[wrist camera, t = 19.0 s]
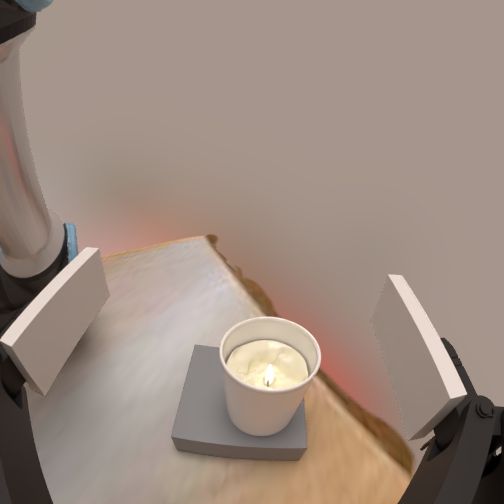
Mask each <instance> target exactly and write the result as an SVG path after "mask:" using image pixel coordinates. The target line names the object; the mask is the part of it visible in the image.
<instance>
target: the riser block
mask: <svg viewBox="0 0 504 504" xmlns="http://www.w3.org/2000/svg"><path fill="white" fill-rule="evenodd" d="M171 437H172V439H173V442H174V444H175V446H176V448H177V450H180V451H186V452H192V453H198V454H204V455H211V456H219V457H229V458H240V459H254V460H299V459H300V458H301V456H302V455H303V454H304V452H305V451H306V449H307V435H306V420H305V406H304V397H303V399H302V401H301V403H300V405H299V407H298V409H297V411H296V412H295V414H294V416H293V418H292V419H291V421H290V422H289V424H288V425H287V426H286V427H285V428H284V429H283V430H281V431H280V432H278V433H275V434H273V435H269V436H254V435H250V434H247V433H245V432H243V431H241V430H239V429H238V428H237V427H236V426H235V425H234V424H233V423H232V421H231V420H230V418H229V415H228V412H227V406H226V399H225V392H224V383H223V375H222V366H221V361H220V356H219V347H210V346H202V345H195V346H194V350H193V354H192V357H191V361H190V365H189V369H188V372H187V376H186V380H185V384H184V387H183V391H182V395H181V399H180V403H179V407H178V411H177V415H176V419H175V423H174V427H173V431H172V435H171Z"/></svg>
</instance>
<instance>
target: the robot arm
mask: <svg viewBox="0 0 504 504" xmlns="http://www.w3.org/2000/svg"><path fill="white" fill-rule="evenodd" d="M52 2H53V0H0V504H53V502H52V499H51V497H50V494H49V491H48V488H47V485H46V482H45V479H44V476H43V473H42V470H41V466H40V462H39V459H38V455H37V451H36V447H35V442H34V438H33V433H32V428H31V422H30V416H29V410H28V402H27V394H26V390H25V387H24V386H23V384H24V383H25V381H26V382H27V383H28V384H29V386H30V387H31V388H32V390H34V391H36V392H38V393H40V394H42V395H44V396H46V395H47V393H48V391H49V389H50V387H51V386H52V384H53V382H54V381H55V379H56V377H57V375H58V374H59V372H60V370H61V369H62V367H63V365H64V364H65V362H66V361H67V359H68V357H69V356H70V354H71V353H72V351H73V349H74V348H75V346H76V345H77V343H78V342H79V340H80V339H81V337H82V336H83V334H84V333H85V331H86V330H87V328H88V327H89V325H90V324H91V322H92V321H93V319H94V318H95V316H96V315H97V314H98V312H99V311H100V309H101V308H102V306H103V305H104V304H105V302H106V301H107V299H108V298H109V297H110V294H109V290H108V286H107V282H106V278H105V274H104V269H103V265H102V260H101V256H100V251H99V248H91V247H86V248H85V249H84V250H83V251H82V252H81V253H80V254H79V255H78V247H77V237H76V228H75V225H74V224H72V223H70V224H68V223H64V224H63V223H62V221H61V219H60V217H59V216H58V215H57V214H56V213H55V212H54V211H52V210H50V209H48V208H47V207H46V204H45V201H44V198H43V194H42V192H41V188H40V184H39V181H38V177H37V174H36V170H35V166H34V162H33V157H32V153H31V148H30V144H29V139H28V134H27V129H26V122H25V116H24V109H23V101H22V92H21V81H20V64H19V63H20V61H19V49H20V47H21V45H22V44H23V42H24V41H25V40H26V39H27V37H28V36H29V35H30V34H31V32H32V31H33V30H34V28H35V25H36V12H39V11H41V10H42V9H44V8H46V7H48V6H49V5H50V4H51V3H52ZM370 322H371V325H372V328H373V330H374V333H375V336H376V339H377V341H378V344H379V347H380V350H381V353H382V356H383V359H384V362H385V364H386V367H387V370H388V374H389V377H390V380H391V383H392V386H393V390H394V393H395V396H396V399H397V403H398V406H399V410H400V413H401V417H402V421H403V425H404V428H405V432H406V436H407V440H408V441H410V440H414V439H419V438H423V437H425V436H426V435H427V434H428V433H429V432H431V431H432V430H434V433H435V436H434V437H433V438H432V439H430V440H429V441H428V442H427V443H425V444H424V445H423V446H422V448H421V449H420V450H423V449H425V448H426V447H427V446H428V448H427V450H426V452H425V455H424V457H423V459H422V461H421V463H420V465H419V467H418V469H417V471H416V473H415V475H414V476H413V478H412V480H411V482H410V484H409V486H408V487H407V489H406V491H405V493H404V494H403V496H402V498H401V499H400V501H399V502H398V504H504V407H496V406H494V404H493V403H492V402H491V400H490V399H488V398H487V397H484V396H478V395H477V394H476V392H475V389H474V387H473V385H472V383H471V381H470V379H469V377H468V375H467V373H466V371H465V369H464V367H463V366H462V363H461V361H460V359H459V358H458V355H457V353H456V351H455V349H454V348H453V346H452V345H451V344H450V343H449V342H448V341H447V340H446V339H445V338H439V336H438V334H437V332H436V330H435V329H434V327H433V325H432V323H431V322H430V320H429V318H428V316H427V315H426V313H425V311H424V310H423V308H422V306H421V305H420V303H419V301H418V300H417V298H416V297H415V295H414V293H413V292H412V290H411V289H410V287H409V286H408V284H407V282H406V281H405V279H404V278H403V276H402V275H390V274H388V275H387V278H386V281H385V284H384V287H383V290H382V292H381V295H380V298H379V301H378V303H377V306H376V308H375V311H374V313H373V316H372V318H371V321H370ZM501 446H502V448H501V453H500V454H499V455H498V456H497V455H496V450H497V449H498V448H499V447H501Z"/></svg>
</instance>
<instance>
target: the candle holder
mask: <svg viewBox="0 0 504 504" xmlns="http://www.w3.org/2000/svg"><path fill="white" fill-rule="evenodd" d="M219 356H220V361H221V366H222V375H223V383H224V392H225V399H226V406H227V412H228V415H229V418H230V420H231V421H232V423H233V424H234V425H235V426H236V427H237V428H238V429H239V430H241V431H243V432H245V433H247V434H250V435H254V436H269V435H273V434H275V433H278V432H280V431H281V430H283V429H284V428H285V427H286V426H287V425H288V424H289V422H290V421H291V419H292V418H293V416H294V414H295V412H296V411H297V409H298V407H299V405H300V403H301V401H302V399H303V397H304V396H305V394H306V392H307V390H308V388H309V386H310V384H311V382H312V380H313V378H314V376H315V375H316V373H317V371H318V369H319V367H320V363H321V351H320V348H319V345H318V343H317V341H316V340H315V338H314V337H313V336H312V335H311V334H310V333H309V332H308V331H307V330H306V329H305V328H303V327H302V326H300V325H298V324H296V323H293V322H291V321H289V320H285V319H282V318H276V317H256V318H251V319H247V320H244V321H242V322H240V323H238V324H236V325H234V326H233V327H232V328H230V329H229V330H228V331H227V333H226V334H225V335H224V337H223V338H222V341H221V343H220V348H219Z"/></svg>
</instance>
